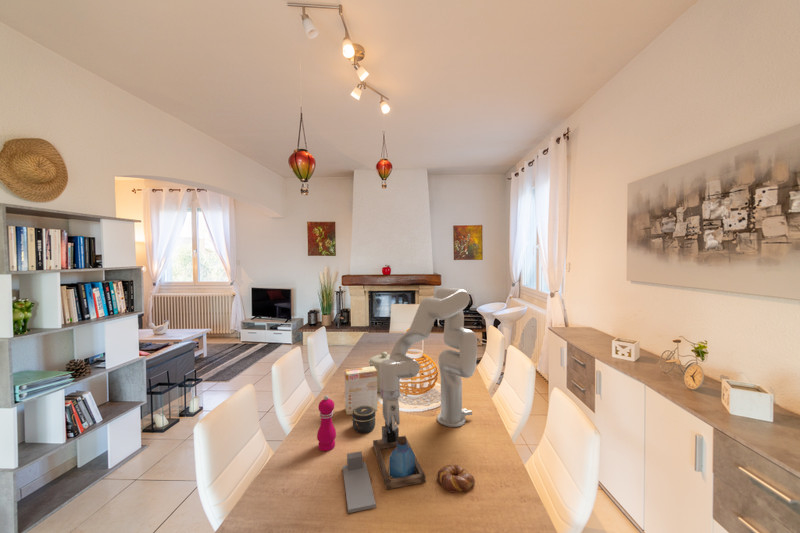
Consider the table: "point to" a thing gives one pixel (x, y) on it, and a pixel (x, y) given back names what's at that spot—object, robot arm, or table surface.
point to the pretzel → (455, 478)
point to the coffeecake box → (360, 388)
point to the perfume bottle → (401, 460)
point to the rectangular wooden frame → (388, 482)
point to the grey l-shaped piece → (357, 484)
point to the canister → (378, 365)
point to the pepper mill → (326, 425)
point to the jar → (363, 419)
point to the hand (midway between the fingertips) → (390, 438)
